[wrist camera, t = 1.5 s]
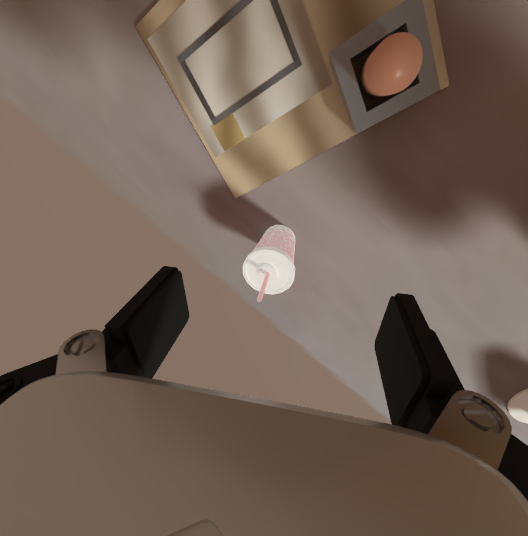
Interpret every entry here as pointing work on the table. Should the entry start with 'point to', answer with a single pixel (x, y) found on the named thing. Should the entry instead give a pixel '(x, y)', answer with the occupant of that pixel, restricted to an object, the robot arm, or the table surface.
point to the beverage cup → (271, 262)
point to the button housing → (396, 20)
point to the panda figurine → (519, 406)
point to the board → (265, 76)
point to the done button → (392, 65)
